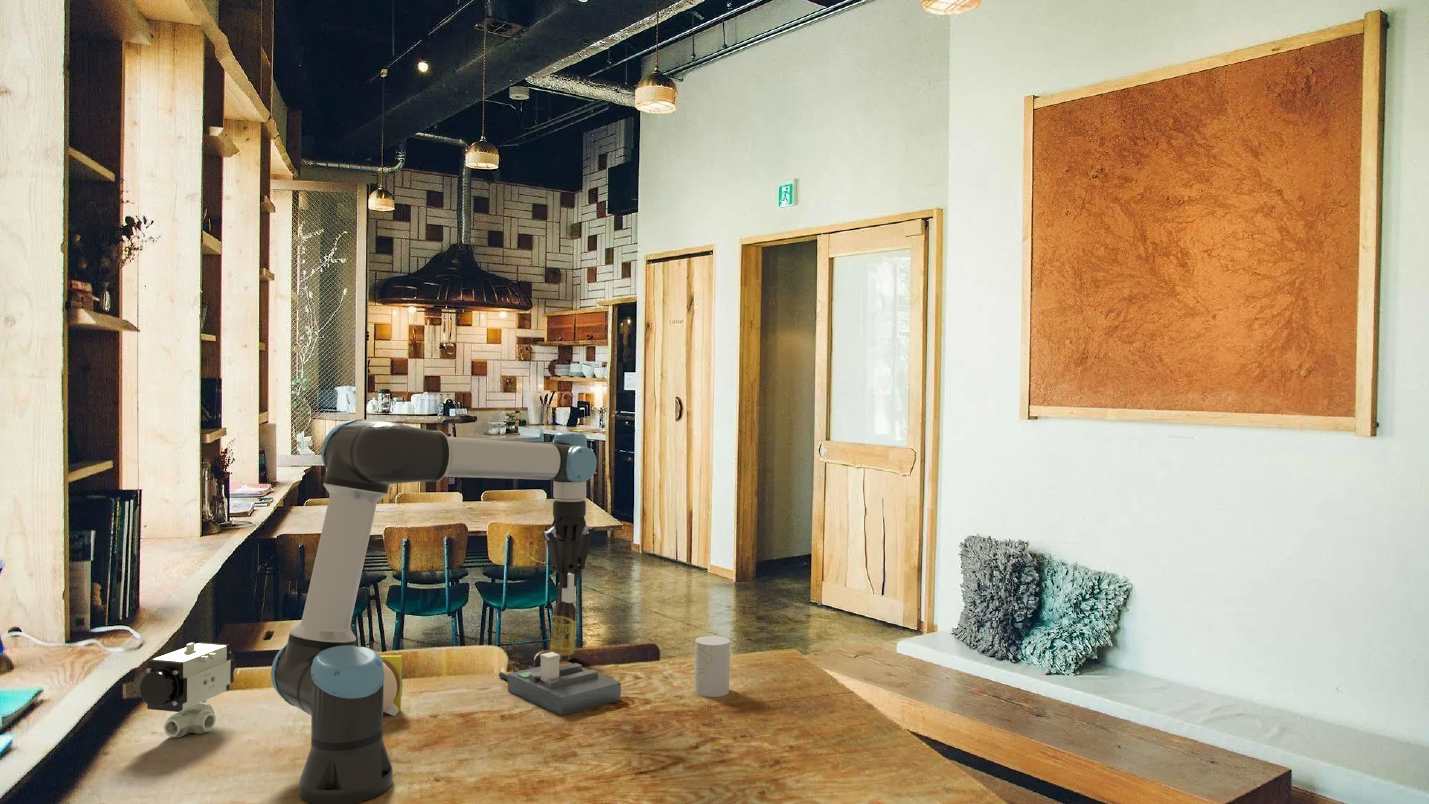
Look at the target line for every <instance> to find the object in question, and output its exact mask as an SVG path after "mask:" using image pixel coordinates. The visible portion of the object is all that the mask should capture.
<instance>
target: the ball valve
mask: <svg viewBox="0 0 1429 804" xmlns="http://www.w3.org/2000/svg"><path fill="white" fill-rule="evenodd" d="M236 665H237V661H236V657H235V655H234V654H233V652H232V651H231V644H227V643H215V642H203V641H200V642H198V643H195V642H189V643H187V644H185V647H184V648H180V649H177V650H175V651H172V652H169V653H166V654H164V655H161V656H157V657H155V658H152V659H150V660H149V659H148V660H147V669H146V672H147V673H146V674H145V675H144V676H143V677H142V679H141V681H140V685H139V693H140V697H141V699H142V700H143V701H144V703H145V704H147V705H146V709H147V710H155V711H162V712H163V711H164V712H175V713H174V714H172V715H170V716H169V718H167V720H166V721H165V723H164V725H163V731H164V734H166V736H167V737H170V738H182V737H183V736H186V735H188V734H190V733H192V734H203V733H202V732H204V733H207V732H209V731H211V730H213V728H214V726H215V725H216V722H217V721H216V720H217V718H216V715H215V711H214V708H213V706H212V705H211V704H208V703H207V702H208V700H209V699H211V698H214V697H216V696H219V695H221V694H223V693H226V692H228V691H229V690H230V685H231V684H233V683H234V681H235V679H234V674H235V670H236Z"/></svg>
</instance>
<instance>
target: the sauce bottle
mask: <svg viewBox="0 0 1429 804" xmlns="http://www.w3.org/2000/svg"><path fill="white" fill-rule="evenodd" d="M557 589H558V591H557V593H558V594H557V602H556V603H555V605H554V607H553V611H552V615H551V629H550V631H551V632H550V648H549V649H550V651H549V652H554V653H556V654H559V655H560V659H559V662H562V661H568V662H569V661H571V660H573V659H574V654H575V647H576V646H575V645H576V628H577V627H576V624H577V619H576V617H577V616H576V615H577V609H576V606H575V604H574V602H572V603H566V602H563V601H562V588H560V586H559V582H558V583H557ZM556 650H561V651H556Z"/></svg>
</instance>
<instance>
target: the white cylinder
mask: <svg viewBox="0 0 1429 804" xmlns="http://www.w3.org/2000/svg"><path fill="white" fill-rule="evenodd" d="M694 644H695V645H694V646H695V647H694V651H695V653H694V694H696V695H698V696H702V697H705V698H718V697H725V696H727V695H728V694H730V668H731V667H730V661H731V659H730V655H731V640H730V638H728V637H726V636H721V635H705V636H699V637H697V638H695V643H694Z"/></svg>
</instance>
